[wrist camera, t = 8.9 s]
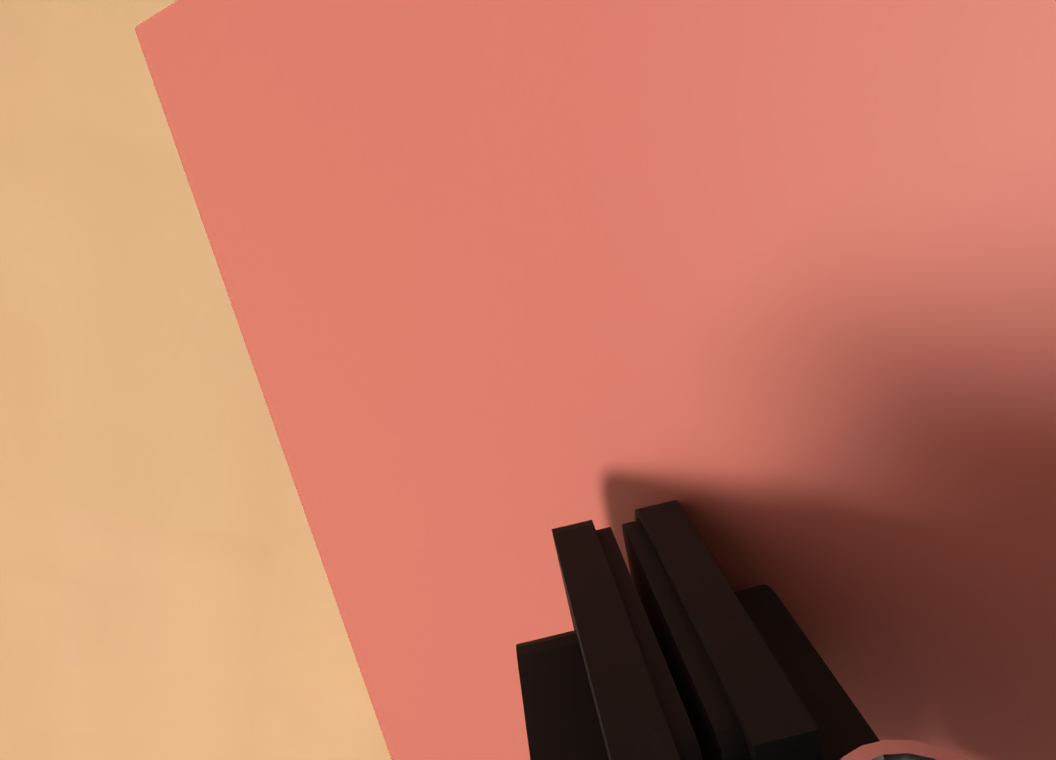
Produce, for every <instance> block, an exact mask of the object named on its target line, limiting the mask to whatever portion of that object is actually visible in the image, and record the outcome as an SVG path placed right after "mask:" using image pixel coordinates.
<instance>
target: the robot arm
mask: <svg viewBox="0 0 1056 760" xmlns="http://www.w3.org/2000/svg"><path fill="white" fill-rule="evenodd" d="M622 531H623V537H624V542H625V548H626V553H627V558H628V563H629V569H630V573H629V570H628V568H627V565H626V563H625V561H624V558H623V556H622V553H621V551H620V548H619V546H618V543H617V541H616V538H615V536H614V534H613V531H612V529H611V527H607V528H603V529H599V530H596V529H595V526H594V524H593V521H592V520H588V521H584V522H580V523H576V524H571V525H567V526H563V527H559V528H554V529H552V534H553V539H554V543H555V548H556V552H557V556H558V561H559V565H560V570H561V574H562V579H563V583H564V587H565V592H566V596H567V601H568V605H569V610H570V614H571V618H572V623H573V627H574V631H569V632H565V633H561V634H557V635H553V636H549V637H545V638H540V639H536V640H532V641H528V642H524V643H520V644H516V653H517V661H518V669H519V677H520V684H521V692H522V700H523V707H524V715H525V723H526V730H527V738H528V746H529V753H530V760H968V759H966V758H964V757H961V756H959V755H957V754H955V753H953V752H951V751H949V750H946V749H944V748H942V747H939V746H935V745H931V744H926V743H922V742H918V741H913V740H883V741H880V740H879V739H878V737H877V736H876V734H875V733H874V732H873V730H872V729H871V727H870V726H869V724H868V723H867V722H866V720H865V719H864V717H863V716H862V715H861V713H860V712H859V710H858V709H857V707H856V706H855V705H854V703H853V702H852V700H851V699H850V698H849V696H848V695H847V693H846V692H845V691H844V689H843V688H842V686H841V685H840V683H839V682H838V681H837V679H836V678H835V676H834V675H833V674H832V672H831V671H830V669H829V668H828V666H827V665H826V664H825V662H824V661H823V659H822V658H821V657H820V655H819V654H818V652H817V651H816V649H815V648H814V647H813V645H812V644H811V642H810V641H809V640H808V638H807V637H806V635H805V634H804V632H803V631H802V630H801V628H800V627H799V625H798V624H797V623H796V621H795V620H794V618H793V617H792V615H791V614H790V613H789V611H788V610H787V608H786V607H785V606H784V604H783V603H782V601H781V600H780V598H779V597H778V596H777V594H776V593H775V592H774V591H773V590H772V588H771V587H770V586H767V585H765V584H764V585H760V586H756V587H752V588H748V589H744V590H740V591H735V592H734V591H733V590H732V588H731V587H730V585H729V583H728V582H727V580H726V579H725V577H724V575H723V574H722V572H721V570H720V569H719V567H718V566H717V564H716V562H715V561H714V559H713V557H712V556H711V554H710V553H709V551H708V549H707V548H706V546H705V545H704V543H703V541H702V540H701V538H700V536H699V535H698V533H697V532H696V530H695V528H694V527H693V525H692V523H691V522H690V520H689V519H688V517H687V515H686V514H685V512H684V511H683V509H682V507H681V506H680V504H679V503H678V501H677V500H673V501H668V502H664V503H660V504H656V505H652V506H647V507H643V508H639V509H635V521H633V522H628V523H624V524H622ZM630 574H631V575H630Z"/></svg>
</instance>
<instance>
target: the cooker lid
mask: <svg viewBox="0 0 1056 760" xmlns="http://www.w3.org/2000/svg"><path fill="white" fill-rule="evenodd" d="M135 31H136V34H137V37H138V40H139V42H140V45H141V48H142V51H143V54H144V57H145V59H146V62H147V65H148V68H149V71H150V74H151V77H152V79H153V82H154V85H155V88H156V91H157V94H158V96H159V99H160V102H161V105H162V108H163V111H164V114H165V116H166V119H167V122H168V125H169V128H170V131H171V133H172V136H173V139H174V142H175V145H176V148H177V150H178V153H179V156H180V159H181V162H182V165H183V168H184V170H185V173H186V176H187V179H188V182H189V185H190V187H191V190H192V193H193V196H194V199H195V202H196V205H197V207H198V210H199V213H200V216H201V219H202V222H203V224H204V227H205V230H206V233H207V236H208V239H209V242H210V244H211V247H212V250H213V253H214V256H215V259H216V261H217V264H218V267H219V270H220V273H221V276H222V278H223V281H224V284H225V287H226V290H227V293H228V296H229V298H230V301H231V304H232V307H233V310H234V313H235V315H236V318H237V321H238V324H239V327H240V330H241V333H242V335H243V338H244V341H245V344H246V347H247V350H248V352H249V355H250V358H251V361H252V364H253V367H254V369H255V372H256V375H257V378H258V381H259V384H260V387H261V389H262V392H263V395H264V398H265V401H266V404H267V406H268V409H269V412H270V415H271V418H272V421H273V424H274V426H275V429H276V432H277V435H278V438H279V441H280V443H281V446H282V449H283V452H284V455H285V458H286V460H287V463H288V466H289V469H290V472H291V475H292V478H293V480H294V483H295V486H296V489H297V492H298V495H299V497H300V500H301V503H302V506H303V509H304V512H305V515H306V517H307V520H308V523H309V526H310V529H311V532H312V534H313V537H314V540H315V543H316V546H317V549H318V552H319V554H320V557H321V560H322V563H323V566H324V569H325V571H326V574H327V577H328V580H329V583H330V586H331V588H332V591H333V594H334V597H335V600H336V603H337V606H338V608H339V611H340V614H341V617H342V620H343V623H344V625H345V628H346V631H347V634H348V637H349V640H350V643H351V645H352V648H353V651H354V654H355V657H356V660H357V662H358V665H359V668H360V671H361V674H362V677H363V679H364V682H365V685H366V688H367V691H368V694H369V697H370V699H371V702H372V705H373V708H374V711H375V714H376V716H377V719H378V722H379V725H380V728H381V731H382V734H383V736H384V739H385V742H386V745H387V748H388V751H389V753H390V756H391V759H392V760H530V753H529V746H528V738H527V730H526V723H525V715H524V707H523V700H522V692H521V684H520V677H519V669H518V661H517V653H516V644H520V643H524V642H528V641H532V640H536V639H540V638H545V637H549V636H553V635H557V634H561V633H565V632H569V631H574V627H573V623H572V618H571V614H570V610H569V605H568V601H567V596H566V592H565V587H564V583H563V579H562V574H561V570H560V565H559V561H558V556H557V552H556V548H555V543H554V539H553V534H552V529H554V528H559V527H563V526H567V525H571V524H576V523H580V522H584V521H588V520H592V521H593V524H594V526H595V529H596V530H599V529H603V528H607V527H611V529H612V531H613V534H614V536H615V538H616V541H617V543H618V546H619V548H620V551H621V553H622V556H623V558H624V561H625V563H626V565H627V568H628V570H629V573H630V569H629V563H628V558H627V553H626V548H625V542H624V537H623V531H622V524H624V523H628V522H633V521H635V509H639V508H643V507H647V506H652V505H656V504H660V503H664V502H668V501H673V500H677V501H678V503H679V504H680V506H681V507H682V509H683V511H684V512H685V514H686V515H687V517H688V519H689V520H690V522H691V523H692V525H693V527H694V528H695V530H696V532H697V533H698V535H699V536H700V538H701V540H702V541H703V543H704V545H705V546H706V548H707V549H708V551H709V553H710V554H711V556H712V557H713V559H714V561H715V562H716V564H717V566H718V567H719V569H720V570H721V572H722V574H723V575H724V577H725V579H726V580H727V582H728V583H729V585H730V587H731V588H732V590H733V591H734V592H735V591H740V590H744V589H748V588H752V587H756V586H760V585H764V584H765V585H767V586H770V587H771V588H772V590H773V591H774V592H775V593H776V594H777V596H778V597H779V598H780V600H781V601H782V603H783V604H784V606H785V607H786V608H787V610H788V611H789V613H790V614H791V615H792V617H793V618H794V620H795V621H796V623H797V624H798V625H799V627H800V628H801V630H802V631H803V632H804V634H805V635H806V637H807V638H808V640H809V641H810V642H811V644H812V645H813V647H814V648H815V649H816V651H817V652H818V654H819V655H820V657H821V658H822V659H823V661H824V662H825V664H826V665H827V666H828V668H829V669H830V671H831V672H832V674H833V675H834V676H835V678H836V679H837V681H838V682H839V683H840V685H841V686H842V688H843V689H844V691H845V692H846V693H847V695H848V696H849V698H850V699H851V700H852V702H853V703H854V705H855V706H856V707H857V709H858V710H859V712H860V713H861V715H862V716H863V717H864V719H865V720H866V722H867V723H868V724H869V726H870V727H871V729H872V730H873V732H874V733H875V734H876V736H877V737H878V739H879V740H880V741H883V740H913V741H918V742H922V743H926V744H931V745H935V746H939V747H942V748H944V749H946V750H949V751H951V752H953V753H955V754H957V755H959V756H961V757H964V758H966V759H968V760H1056V0H178V1H176V2H175V3H173V4H171V5H170V6H168V7H167V8H165V9H163V10H162V11H160V12H159V13H157V14H155V15H154V16H152V17H151V18H149V19H147V20H146V21H144V22H143V23H141V24H139V25H138V26H136V27H135ZM630 575H631V574H630Z"/></svg>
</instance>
